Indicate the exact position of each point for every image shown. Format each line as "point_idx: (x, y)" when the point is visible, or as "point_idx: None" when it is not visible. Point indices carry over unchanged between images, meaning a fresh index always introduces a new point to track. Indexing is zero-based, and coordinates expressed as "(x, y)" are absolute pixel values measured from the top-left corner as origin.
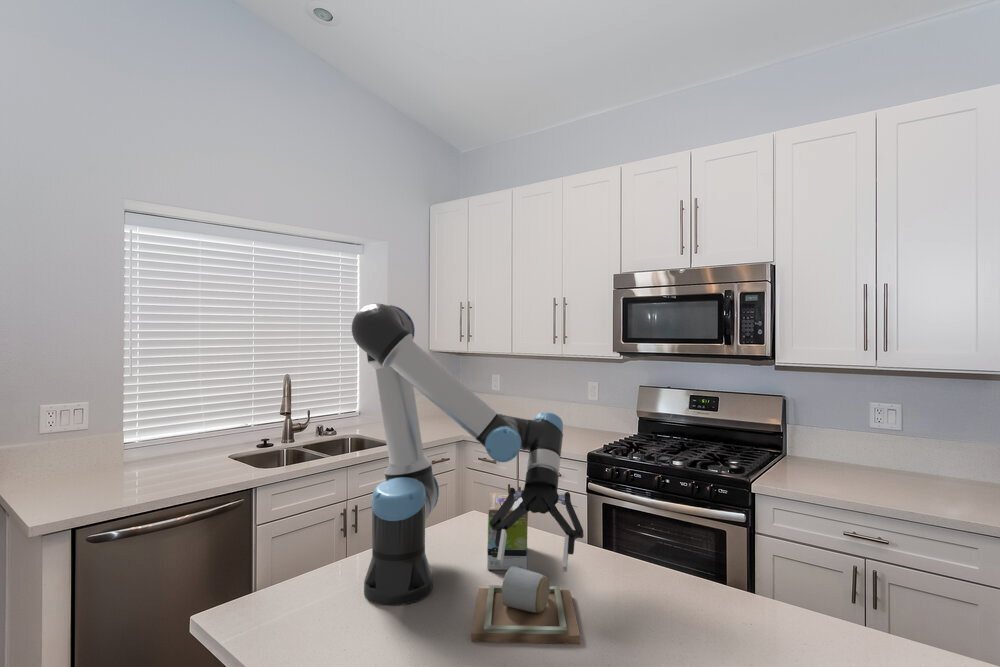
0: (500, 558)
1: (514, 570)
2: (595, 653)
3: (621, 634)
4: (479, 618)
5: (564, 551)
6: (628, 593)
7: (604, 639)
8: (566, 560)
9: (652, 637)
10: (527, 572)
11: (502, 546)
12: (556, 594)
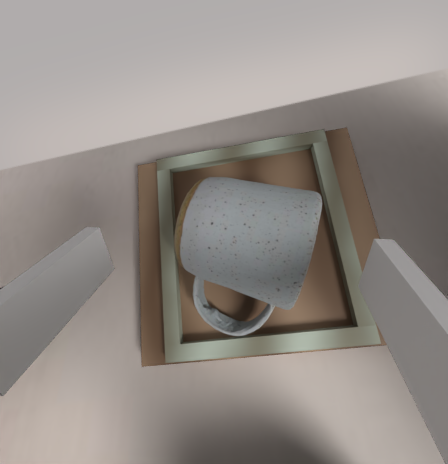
0: (376, 241)
1: (290, 217)
2: (122, 153)
3: (70, 216)
4: (348, 182)
5: (49, 263)
6: (11, 398)
7: (102, 195)
8: (70, 240)
9: (23, 217)
10: (239, 218)
11: (409, 286)
12: (174, 310)
